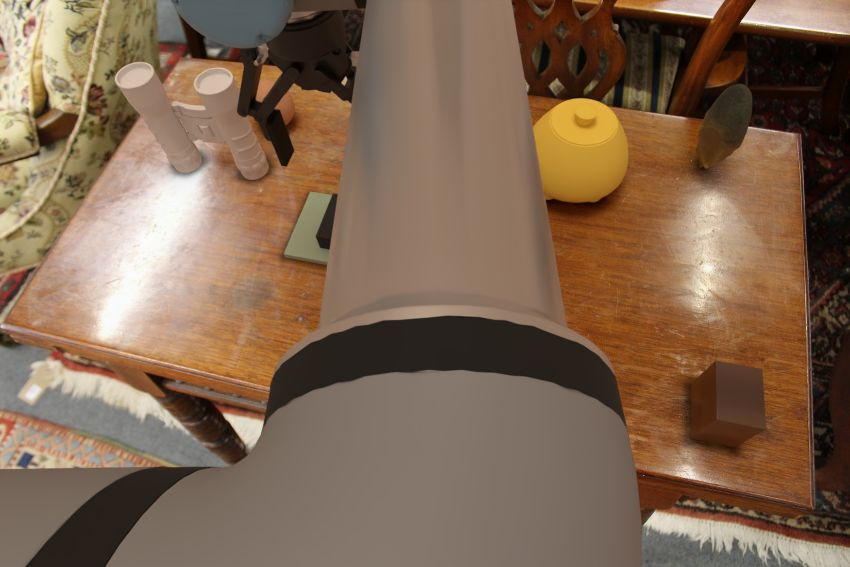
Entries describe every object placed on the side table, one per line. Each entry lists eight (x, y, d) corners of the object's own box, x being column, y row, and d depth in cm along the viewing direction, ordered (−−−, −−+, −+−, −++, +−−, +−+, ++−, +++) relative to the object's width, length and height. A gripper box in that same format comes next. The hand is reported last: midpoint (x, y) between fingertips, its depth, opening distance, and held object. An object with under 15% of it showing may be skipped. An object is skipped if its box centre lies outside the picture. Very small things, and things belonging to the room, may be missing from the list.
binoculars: (275, 158, 93) (238, 68, 77) (265, 183, 90) (225, 95, 74) (179, 149, 95) (124, 60, 79) (167, 173, 92) (107, 86, 77)
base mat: (401, 278, 80) (399, 266, 77) (285, 257, 83) (278, 244, 80) (421, 212, 85) (420, 198, 82) (311, 195, 88) (306, 180, 85)
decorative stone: (684, 141, 90) (722, 63, 77) (724, 149, 89) (769, 71, 76) (678, 186, 85) (717, 112, 72) (719, 195, 84) (767, 121, 71)
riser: (734, 448, 66) (766, 429, 59) (689, 438, 67) (716, 419, 60) (732, 392, 69) (762, 368, 62) (690, 384, 70) (715, 360, 63)
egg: (306, 127, 96) (293, 87, 89) (267, 145, 94) (251, 106, 87) (289, 102, 99) (275, 62, 92) (251, 119, 98) (234, 79, 90)
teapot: (488, 212, 85) (493, 148, 73) (493, 137, 92) (498, 68, 81) (623, 220, 83) (650, 155, 71) (617, 142, 90) (641, 72, 79)
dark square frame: (371, 257, 81) (368, 245, 78) (319, 248, 82) (315, 236, 79) (386, 213, 84) (384, 201, 82) (336, 205, 86) (332, 193, 83)
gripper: (444, -15, 49) (448, 156, 67) (186, -37, 53) (256, 130, 71) (424, 39, 45) (434, 204, 63) (149, 11, 49) (233, 174, 67)
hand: (340, 165), depth 67 cm, fingers open, 13 cm apart
